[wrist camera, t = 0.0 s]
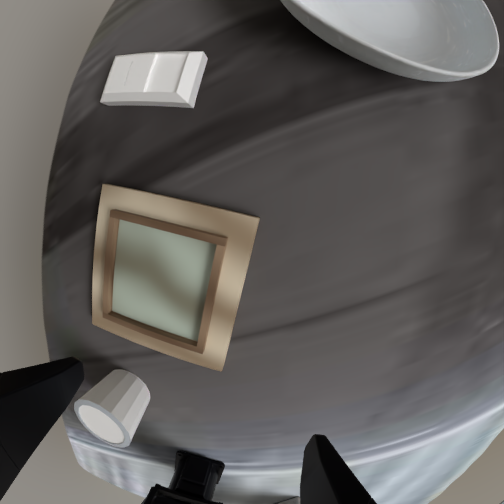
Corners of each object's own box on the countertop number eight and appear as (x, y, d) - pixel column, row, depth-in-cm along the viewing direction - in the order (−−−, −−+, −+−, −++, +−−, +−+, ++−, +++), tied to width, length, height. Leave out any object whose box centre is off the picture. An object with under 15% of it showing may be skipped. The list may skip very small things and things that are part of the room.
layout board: (223, 365, 24) (220, 376, 23) (97, 320, 25) (88, 327, 23) (260, 217, 21) (258, 219, 20) (108, 184, 22) (97, 183, 20)
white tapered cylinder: (165, 393, 26) (140, 436, 19) (141, 417, 28) (118, 454, 21) (115, 353, 26) (81, 389, 19) (98, 382, 27) (68, 415, 20)
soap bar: (124, 62, 20) (111, 52, 17) (208, 60, 19) (200, 47, 17) (110, 106, 21) (94, 100, 18) (194, 109, 20) (184, 99, 18)
